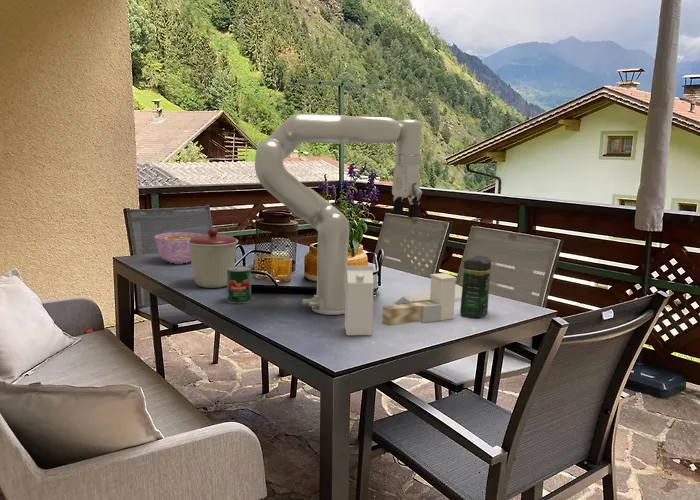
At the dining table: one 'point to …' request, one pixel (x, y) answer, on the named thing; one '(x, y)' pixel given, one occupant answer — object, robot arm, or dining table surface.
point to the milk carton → (359, 300)
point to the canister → (212, 258)
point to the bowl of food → (175, 246)
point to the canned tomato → (239, 284)
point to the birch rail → (403, 313)
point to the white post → (439, 298)
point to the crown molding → (428, 296)
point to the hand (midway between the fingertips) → (405, 215)
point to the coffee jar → (475, 286)
